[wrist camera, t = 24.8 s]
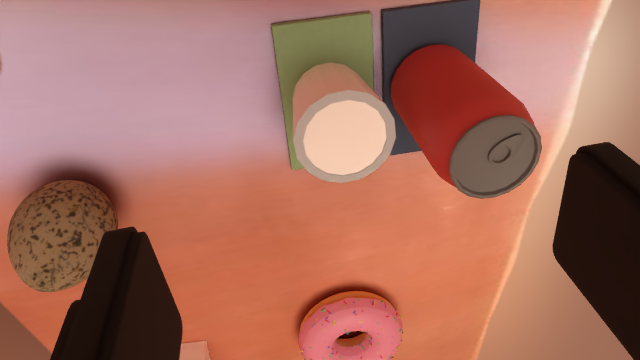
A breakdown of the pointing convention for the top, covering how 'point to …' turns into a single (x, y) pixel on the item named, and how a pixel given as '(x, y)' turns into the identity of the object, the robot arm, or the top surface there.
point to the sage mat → (320, 55)
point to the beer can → (465, 122)
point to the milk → (194, 351)
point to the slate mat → (423, 45)
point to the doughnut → (351, 328)
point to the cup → (340, 124)
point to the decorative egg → (59, 234)
